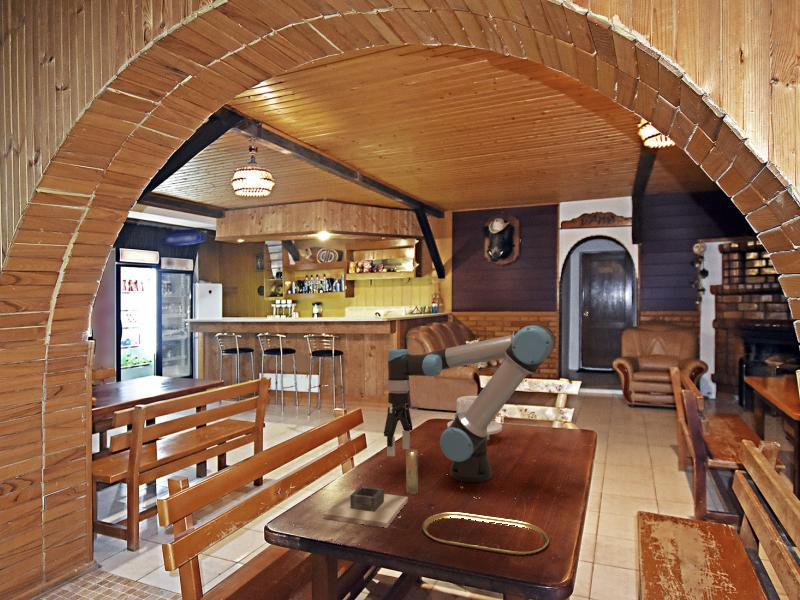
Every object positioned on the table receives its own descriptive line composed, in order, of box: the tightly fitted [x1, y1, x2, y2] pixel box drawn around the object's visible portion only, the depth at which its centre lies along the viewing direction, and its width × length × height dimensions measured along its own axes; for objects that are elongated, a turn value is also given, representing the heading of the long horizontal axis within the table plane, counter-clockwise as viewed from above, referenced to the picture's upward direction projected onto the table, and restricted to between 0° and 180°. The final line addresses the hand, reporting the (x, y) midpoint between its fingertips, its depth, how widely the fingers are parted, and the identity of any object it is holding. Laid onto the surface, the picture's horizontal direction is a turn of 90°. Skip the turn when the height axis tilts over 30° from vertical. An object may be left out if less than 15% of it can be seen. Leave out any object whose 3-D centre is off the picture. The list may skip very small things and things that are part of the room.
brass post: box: [405, 448, 419, 495], centre depth 175 cm, size 4×4×14 cm
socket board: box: [323, 485, 409, 529], centre depth 161 cm, size 20×20×6 cm
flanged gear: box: [446, 395, 503, 441], centre depth 238 cm, size 25×25×19 cm
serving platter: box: [421, 511, 550, 556], centre depth 144 cm, size 19×35×2 cm, turn 71°
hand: (398, 452), depth 184 cm, fingers open, 13 cm apart
